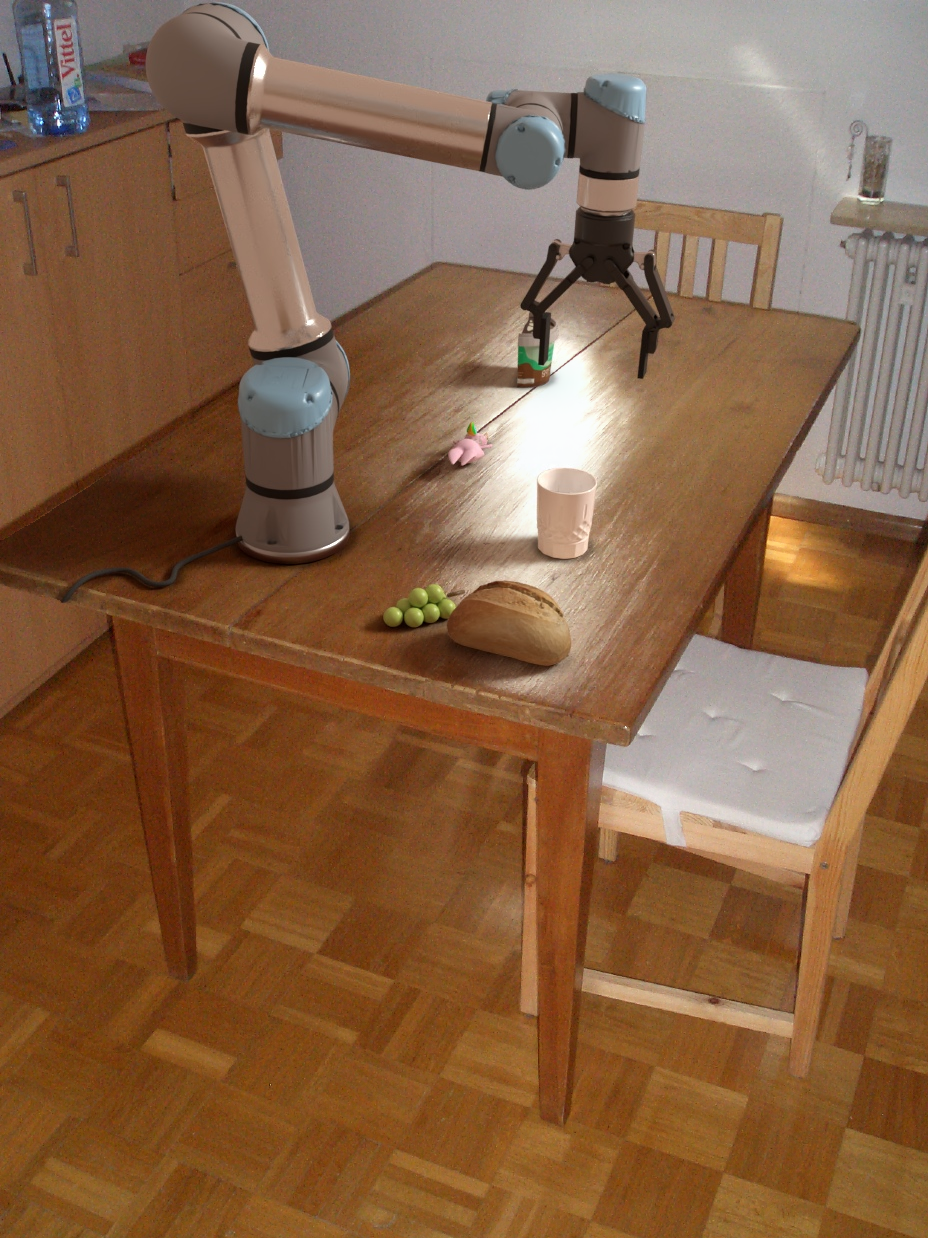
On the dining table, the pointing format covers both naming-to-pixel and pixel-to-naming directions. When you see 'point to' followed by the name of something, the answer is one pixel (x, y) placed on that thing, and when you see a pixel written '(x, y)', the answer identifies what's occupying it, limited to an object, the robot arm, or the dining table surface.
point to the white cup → (565, 511)
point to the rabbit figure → (469, 447)
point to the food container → (533, 356)
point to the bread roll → (512, 623)
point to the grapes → (421, 607)
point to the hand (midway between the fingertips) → (591, 368)
